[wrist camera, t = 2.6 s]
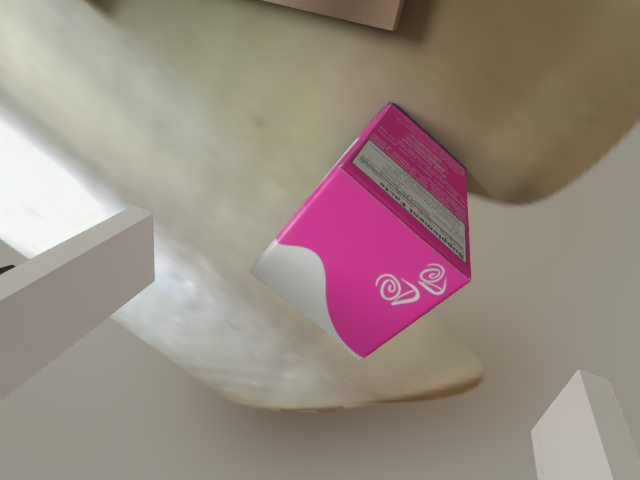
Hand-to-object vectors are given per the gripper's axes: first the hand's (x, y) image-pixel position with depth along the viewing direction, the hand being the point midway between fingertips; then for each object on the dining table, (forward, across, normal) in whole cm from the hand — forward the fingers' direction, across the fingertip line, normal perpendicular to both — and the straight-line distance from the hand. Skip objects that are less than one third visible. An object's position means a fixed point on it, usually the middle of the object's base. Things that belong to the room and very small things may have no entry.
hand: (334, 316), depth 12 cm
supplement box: (+14, 0, 0) cm, 14 cm away
